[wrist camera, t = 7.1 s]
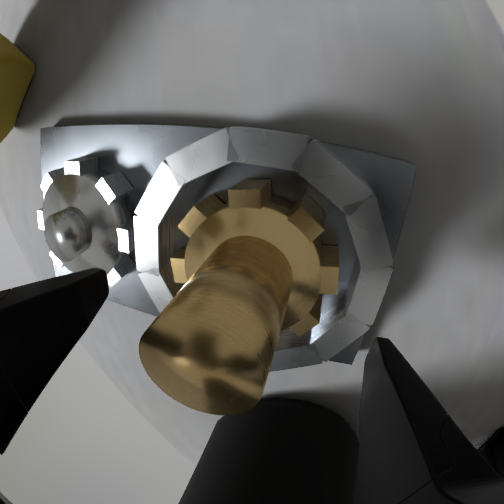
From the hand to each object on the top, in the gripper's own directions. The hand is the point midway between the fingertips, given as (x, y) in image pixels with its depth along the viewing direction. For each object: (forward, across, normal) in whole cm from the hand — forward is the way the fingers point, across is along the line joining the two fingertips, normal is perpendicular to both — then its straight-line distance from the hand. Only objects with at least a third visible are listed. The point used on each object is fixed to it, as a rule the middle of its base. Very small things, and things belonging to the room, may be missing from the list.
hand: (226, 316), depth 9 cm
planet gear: (+4, 0, 0) cm, 5 cm away
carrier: (+6, +4, 0) cm, 7 cm away
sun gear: (+6, +9, 0) cm, 11 cm away
